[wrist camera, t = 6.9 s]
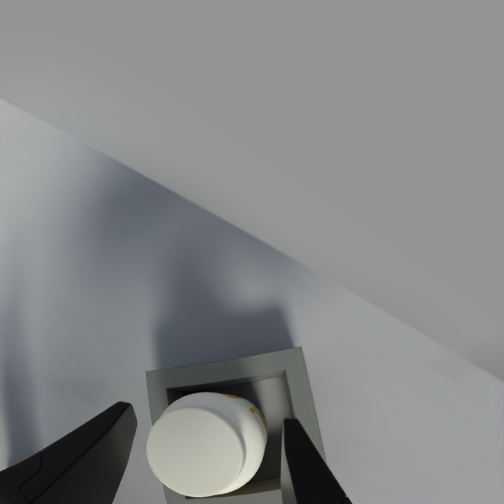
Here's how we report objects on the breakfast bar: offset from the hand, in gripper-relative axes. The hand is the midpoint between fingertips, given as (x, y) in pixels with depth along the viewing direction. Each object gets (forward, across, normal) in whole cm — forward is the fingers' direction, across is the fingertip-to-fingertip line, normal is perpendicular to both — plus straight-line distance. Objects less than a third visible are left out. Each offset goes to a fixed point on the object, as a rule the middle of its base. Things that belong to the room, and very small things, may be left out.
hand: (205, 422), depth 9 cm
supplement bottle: (+8, +1, +10) cm, 13 cm away
